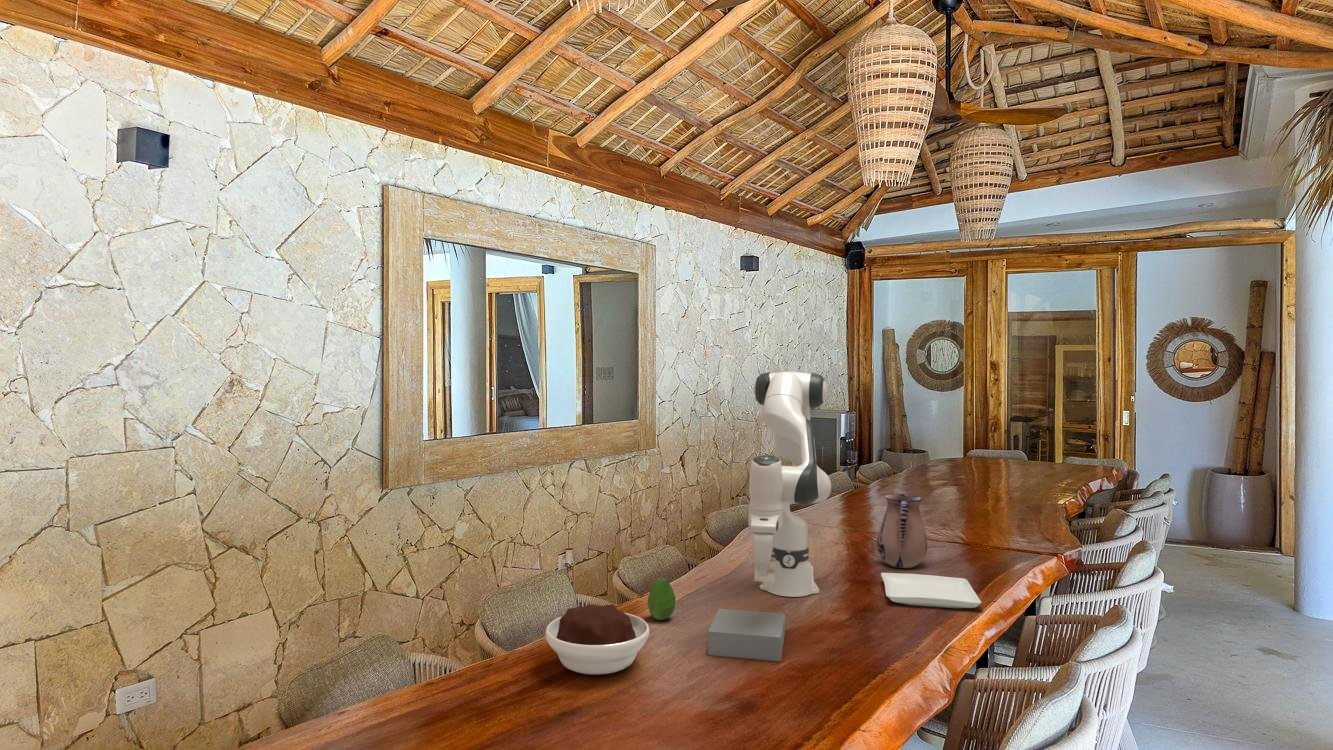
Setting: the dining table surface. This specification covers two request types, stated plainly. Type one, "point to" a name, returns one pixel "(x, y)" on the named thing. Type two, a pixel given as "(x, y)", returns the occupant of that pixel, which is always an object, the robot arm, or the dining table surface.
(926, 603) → the square plate
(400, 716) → the dining table surface
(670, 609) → the avocado
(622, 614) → the chocolate pudding bowl
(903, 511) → the ceramic pitcher
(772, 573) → the cream cube
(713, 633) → the pedestal
